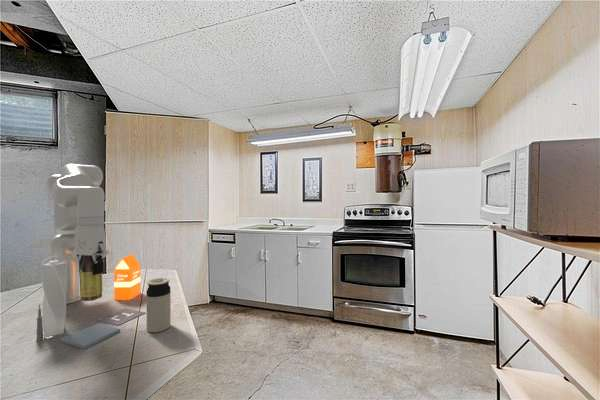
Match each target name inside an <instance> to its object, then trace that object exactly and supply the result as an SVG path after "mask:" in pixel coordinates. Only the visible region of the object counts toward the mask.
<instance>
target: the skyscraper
mask: <svg viewBox="0 0 600 400" xmlns="http://www.w3.org/2000/svg"><path fill="white" fill-rule="evenodd" d="M52 257H56V258H55V260H54V261H52V260H50V261H48V263H44V262H45V261H47V260H48V259H52ZM56 259H57V255H53V256H52V255H50V256H47V257H46V258H44V259H43V260H42V261H41V263H40V276H41V283H42V288H43V299H42V308H41V304H40V303H39V304H38V309H37V317H36V331H35V332H36V340H35V342H36V343H37V342H38V341H39V342H43V341H46V339H47V338H45V337H49V336H53V338H52V339H54V337H56V338H60V337H64V332H65V330H66V320H67V319H66V318H67V304H66V298H65V292H64V284H65V279H66V273H67V264H68V261H67V260H65V261H61V262H59V260H56ZM43 333H44V335H43ZM43 336H44V337H43ZM59 336H60V337H59ZM43 338H44V339H43ZM42 340H43V341H42ZM47 340H48V339H47Z"/></svg>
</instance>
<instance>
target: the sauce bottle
mask: <svg viewBox="0 0 600 400" xmlns="http://www.w3.org/2000/svg"><path fill="white" fill-rule="evenodd" d="M96 254H97V252H96ZM96 257H97V258H98V257H99V256H96ZM92 263H94V261H93V257H92V256H86V255H83V259H82V261H81V264H80V266H79V293H80V296H81V301H82V302H92V301H96V300H98V299H101V298H102V297H103V273H100V274H96V275H93V268H92Z"/></svg>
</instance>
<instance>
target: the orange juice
mask: <svg viewBox="0 0 600 400" xmlns="http://www.w3.org/2000/svg"><path fill="white" fill-rule="evenodd" d="M113 272H114V275H113V277H114V278H113V279H114V280H113V288H114V291H113V293H114V296H113V297H114V300H115V301H117V300H118V301H119V300H121V301H123V300H124V301H126V300H132V299H134V298H135V297H136V296H139V295H140V294H141V279H142V278H141V263H140V262H139V261H138V260H137V259H136V257H135V256H134V254H132V253H131V254H130V255H128V256H124V257H122V258H121V259H120V261H119V262H118V263H117V265H116V267H115V268H114V269H113Z"/></svg>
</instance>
